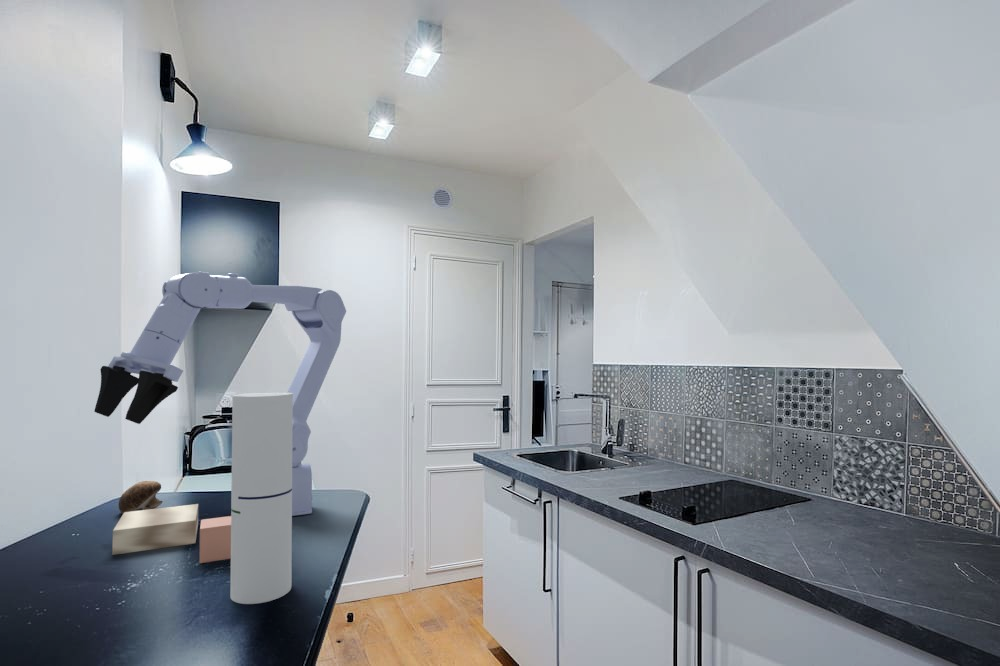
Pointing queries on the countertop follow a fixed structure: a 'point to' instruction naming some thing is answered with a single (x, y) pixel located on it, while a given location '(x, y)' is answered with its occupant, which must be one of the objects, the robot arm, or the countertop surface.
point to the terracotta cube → (215, 539)
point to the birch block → (155, 529)
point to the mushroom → (140, 497)
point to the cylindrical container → (261, 497)
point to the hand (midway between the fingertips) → (116, 417)
